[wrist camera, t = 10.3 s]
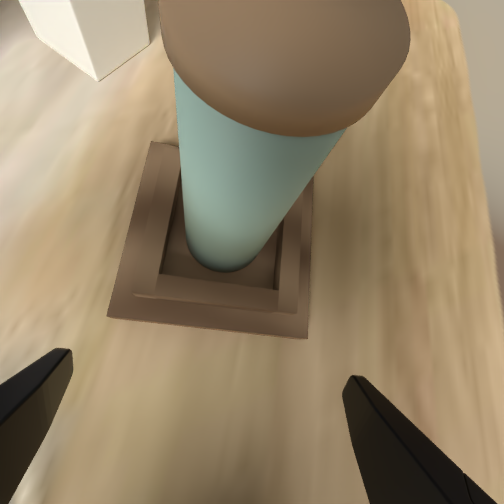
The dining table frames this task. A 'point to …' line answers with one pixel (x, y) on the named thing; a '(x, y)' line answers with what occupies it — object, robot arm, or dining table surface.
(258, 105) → the cup
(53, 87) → the dining table surface
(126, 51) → the milk
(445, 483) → the robot arm
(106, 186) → the dining table surface
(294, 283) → the brown wooden square tray
